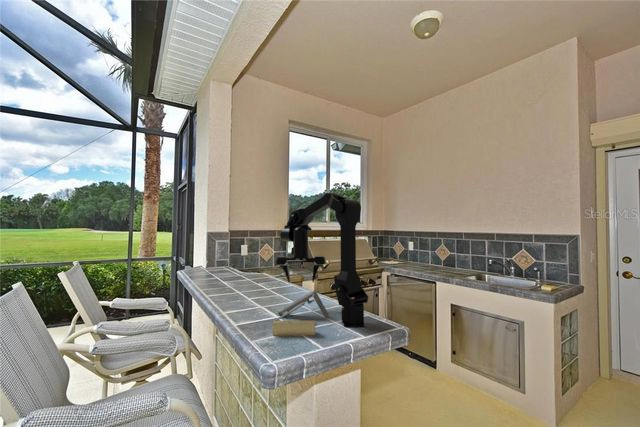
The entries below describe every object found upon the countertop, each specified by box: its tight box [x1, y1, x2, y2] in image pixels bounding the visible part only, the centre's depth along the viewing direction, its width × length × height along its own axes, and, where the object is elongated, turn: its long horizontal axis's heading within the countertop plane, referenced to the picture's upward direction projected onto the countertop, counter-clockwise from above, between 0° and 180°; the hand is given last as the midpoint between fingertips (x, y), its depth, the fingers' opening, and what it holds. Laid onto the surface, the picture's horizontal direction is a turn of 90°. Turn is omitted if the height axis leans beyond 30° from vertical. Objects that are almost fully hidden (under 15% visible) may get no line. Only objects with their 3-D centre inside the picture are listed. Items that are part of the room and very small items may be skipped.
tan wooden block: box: [272, 320, 316, 337], centre depth 82 cm, size 12×3×4 cm, turn 90°
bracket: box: [274, 289, 330, 321], centre depth 95 cm, size 10×14×10 cm
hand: (301, 282), depth 110 cm, fingers open, 9 cm apart
